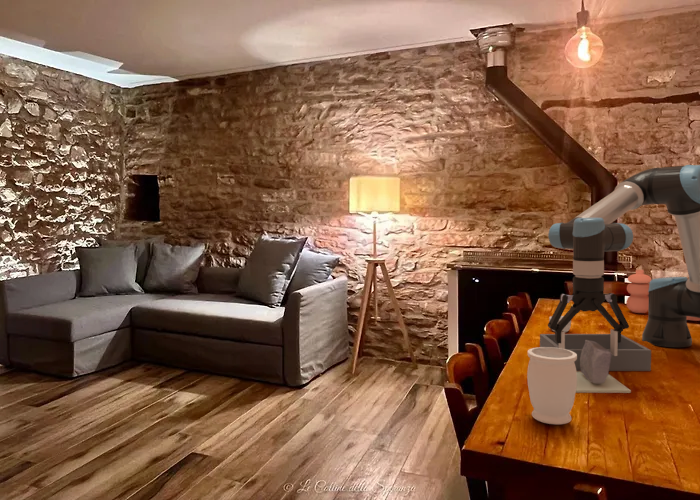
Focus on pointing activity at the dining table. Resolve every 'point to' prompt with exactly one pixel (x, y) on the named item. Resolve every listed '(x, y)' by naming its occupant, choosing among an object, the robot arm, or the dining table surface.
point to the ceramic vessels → (641, 293)
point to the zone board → (599, 385)
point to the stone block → (595, 362)
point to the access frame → (628, 350)
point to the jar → (552, 383)
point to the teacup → (565, 326)
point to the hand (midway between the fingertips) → (587, 354)
